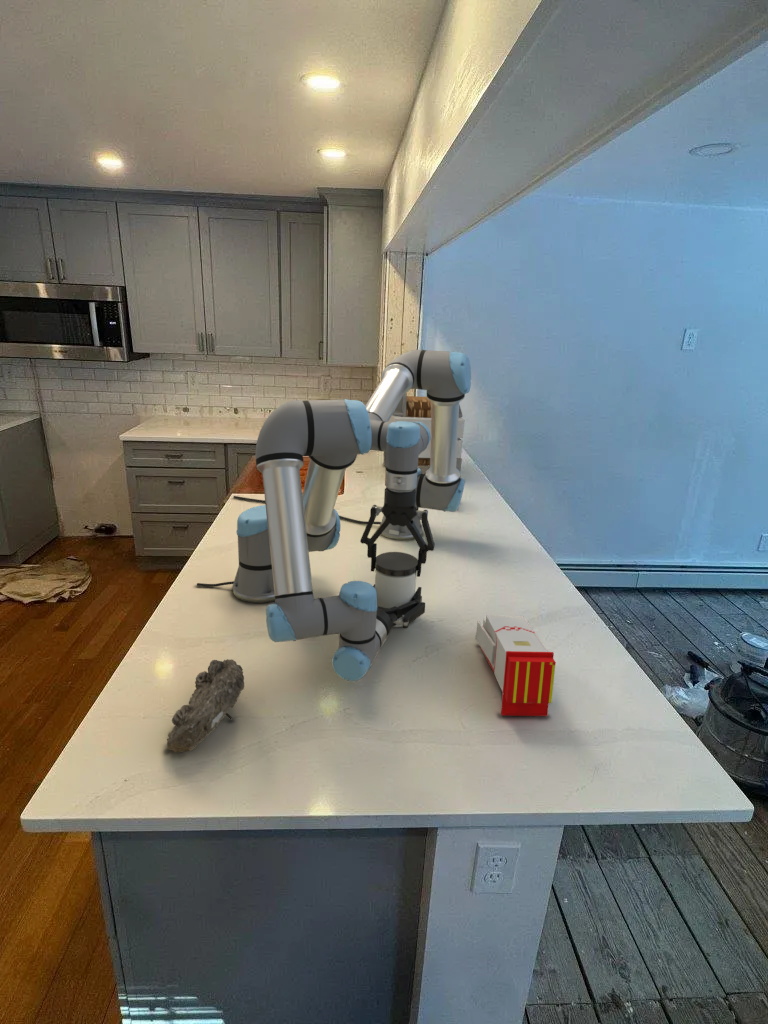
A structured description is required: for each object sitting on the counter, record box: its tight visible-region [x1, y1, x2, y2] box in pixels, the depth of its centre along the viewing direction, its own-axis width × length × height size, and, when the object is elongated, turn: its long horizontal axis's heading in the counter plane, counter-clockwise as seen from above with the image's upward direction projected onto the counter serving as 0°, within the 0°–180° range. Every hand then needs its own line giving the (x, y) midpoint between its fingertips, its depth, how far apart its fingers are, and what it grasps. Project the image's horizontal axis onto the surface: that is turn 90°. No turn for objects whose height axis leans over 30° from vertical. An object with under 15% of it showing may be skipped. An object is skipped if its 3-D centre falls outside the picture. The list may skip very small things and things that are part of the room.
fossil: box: [166, 658, 245, 754], centre depth 106 cm, size 22×10×15 cm
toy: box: [475, 615, 557, 717], centre depth 123 cm, size 12×13×30 cm
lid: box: [374, 551, 418, 576], centre depth 141 cm, size 11×11×2 cm
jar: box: [374, 569, 417, 628], centre depth 144 cm, size 10×10×15 cm
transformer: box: [383, 392, 465, 475], centre depth 268 cm, size 34×33×41 cm
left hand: (399, 587), depth 148 cm, fingers closed on jar, 10 cm apart
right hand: (395, 571), depth 142 cm, fingers closed on lid, 11 cm apart
